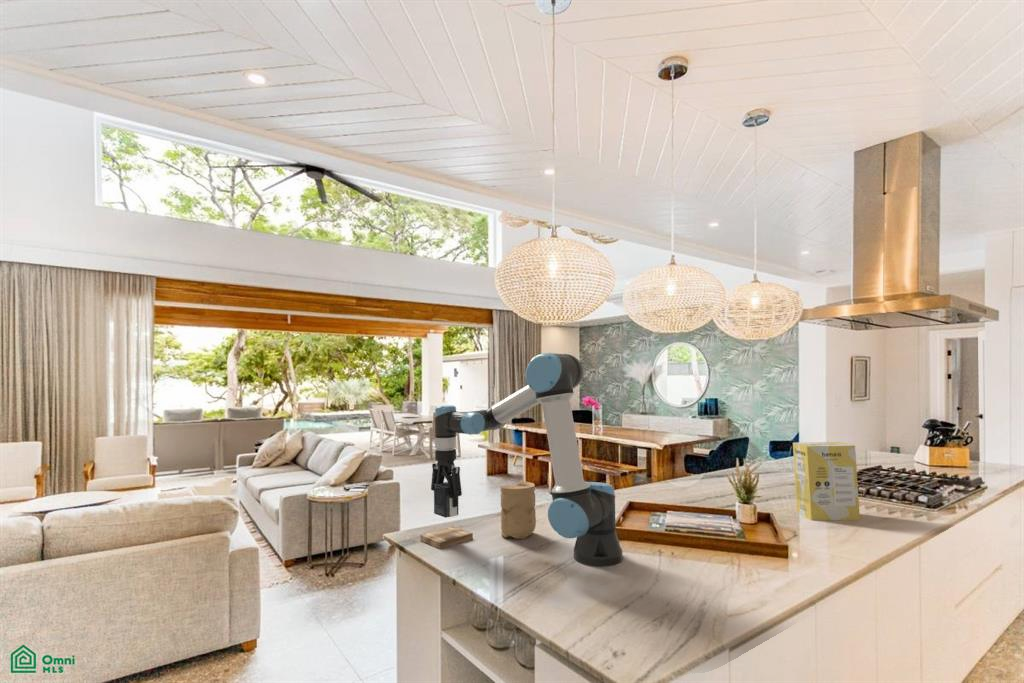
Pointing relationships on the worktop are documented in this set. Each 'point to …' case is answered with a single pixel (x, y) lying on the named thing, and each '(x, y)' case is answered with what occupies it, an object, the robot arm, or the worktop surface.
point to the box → (442, 500)
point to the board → (446, 537)
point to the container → (518, 510)
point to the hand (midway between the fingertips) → (446, 513)
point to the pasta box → (826, 481)
